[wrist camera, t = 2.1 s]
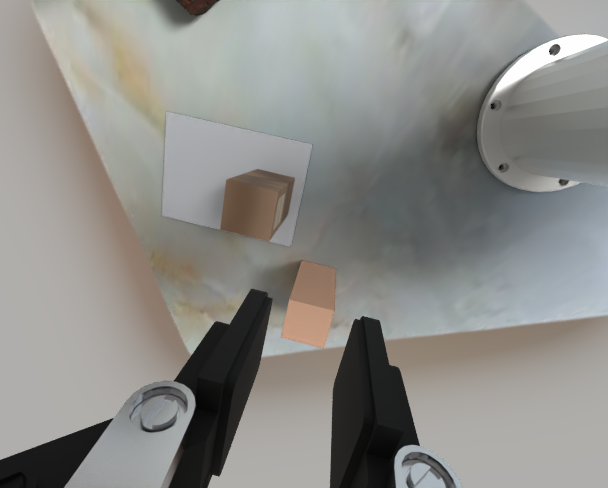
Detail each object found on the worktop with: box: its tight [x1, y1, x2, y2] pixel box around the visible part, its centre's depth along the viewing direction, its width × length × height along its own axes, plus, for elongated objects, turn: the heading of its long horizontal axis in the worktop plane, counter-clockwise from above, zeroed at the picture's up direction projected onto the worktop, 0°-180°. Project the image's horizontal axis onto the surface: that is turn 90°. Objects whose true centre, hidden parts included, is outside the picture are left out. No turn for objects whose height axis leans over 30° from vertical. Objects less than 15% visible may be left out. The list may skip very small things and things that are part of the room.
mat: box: [161, 111, 313, 247], centre depth 32 cm, size 15×11×1 cm
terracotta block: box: [281, 260, 336, 348], centre depth 30 cm, size 4×4×9 cm
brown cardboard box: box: [220, 169, 295, 241], centre depth 27 cm, size 4×4×9 cm
